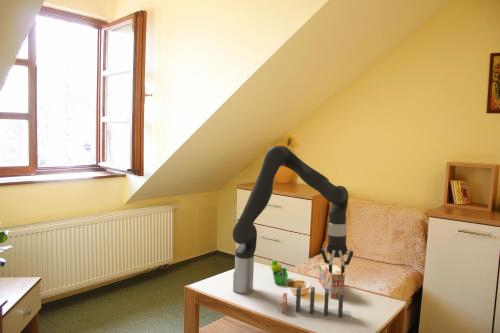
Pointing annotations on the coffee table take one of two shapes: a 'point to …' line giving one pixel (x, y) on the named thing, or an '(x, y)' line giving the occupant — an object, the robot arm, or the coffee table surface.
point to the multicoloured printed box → (332, 280)
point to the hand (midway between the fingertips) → (336, 273)
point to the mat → (316, 312)
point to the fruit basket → (279, 272)
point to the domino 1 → (284, 303)
